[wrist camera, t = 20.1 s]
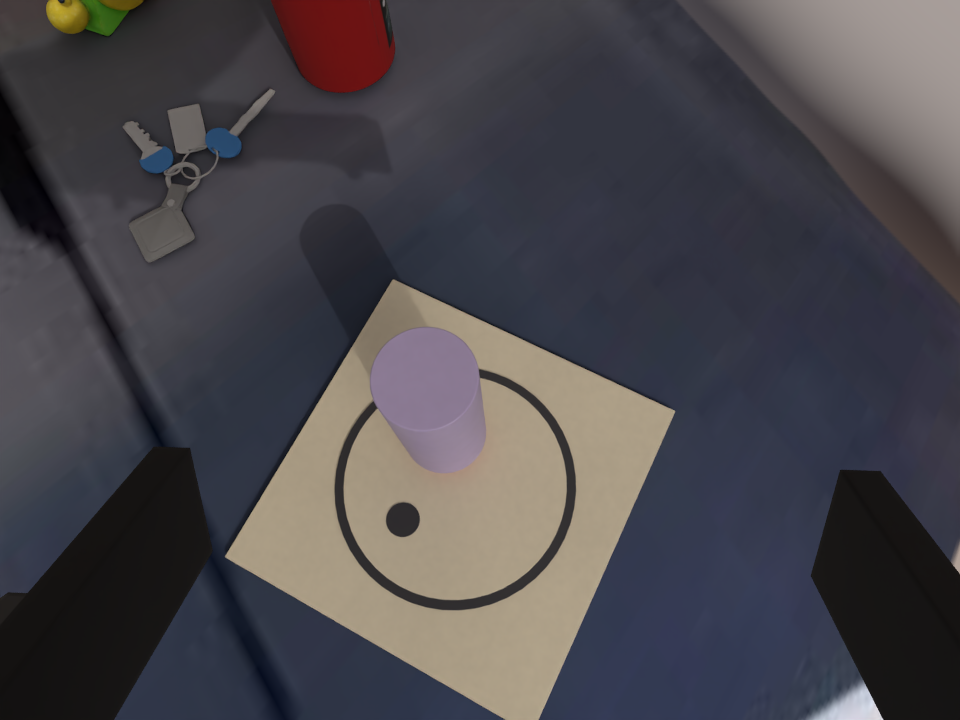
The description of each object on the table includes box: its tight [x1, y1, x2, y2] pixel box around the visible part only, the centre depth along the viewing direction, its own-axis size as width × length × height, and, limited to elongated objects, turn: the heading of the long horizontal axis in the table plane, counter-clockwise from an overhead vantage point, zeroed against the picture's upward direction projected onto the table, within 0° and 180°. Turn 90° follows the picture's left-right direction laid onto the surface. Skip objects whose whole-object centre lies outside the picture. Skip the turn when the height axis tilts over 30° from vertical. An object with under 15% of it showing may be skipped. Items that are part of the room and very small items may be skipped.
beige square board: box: [225, 279, 675, 720], centre depth 38 cm, size 18×18×1 cm
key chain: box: [123, 88, 275, 262], centre depth 45 cm, size 14×8×1 cm, turn 159°
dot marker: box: [370, 327, 486, 473], centre depth 33 cm, size 4×4×11 cm
